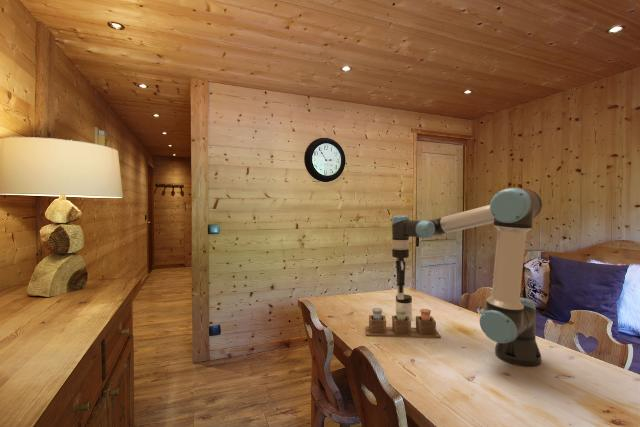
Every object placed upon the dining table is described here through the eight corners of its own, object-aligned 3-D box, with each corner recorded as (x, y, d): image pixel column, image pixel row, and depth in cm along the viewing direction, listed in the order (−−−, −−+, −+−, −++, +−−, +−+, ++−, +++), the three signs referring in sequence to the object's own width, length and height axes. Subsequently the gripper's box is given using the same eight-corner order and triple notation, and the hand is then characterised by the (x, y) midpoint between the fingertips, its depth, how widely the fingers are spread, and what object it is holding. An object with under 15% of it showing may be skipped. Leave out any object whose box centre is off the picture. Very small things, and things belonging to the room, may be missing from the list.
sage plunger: (407, 326, 146) (407, 311, 146) (396, 326, 146) (396, 311, 146) (405, 322, 150) (405, 308, 150) (395, 322, 151) (395, 308, 151)
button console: (440, 338, 142) (440, 323, 141) (366, 336, 145) (365, 321, 145) (435, 329, 152) (435, 315, 151) (365, 327, 155) (365, 314, 155)
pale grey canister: (382, 325, 147) (382, 311, 147) (372, 325, 148) (372, 310, 147) (381, 322, 152) (381, 307, 151) (372, 321, 152) (372, 307, 152)
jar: (415, 319, 166) (415, 296, 166) (406, 323, 161) (406, 299, 161) (401, 315, 173) (401, 293, 173) (392, 318, 168) (392, 296, 168)
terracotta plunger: (431, 326, 145) (431, 312, 144) (421, 326, 145) (421, 311, 145) (429, 323, 149) (429, 308, 149) (419, 323, 150) (419, 308, 150)
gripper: (411, 250, 141) (411, 303, 142) (406, 246, 154) (406, 295, 154) (393, 250, 142) (394, 303, 142) (390, 246, 155) (390, 295, 155)
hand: (400, 299), depth 148 cm, fingers closed
